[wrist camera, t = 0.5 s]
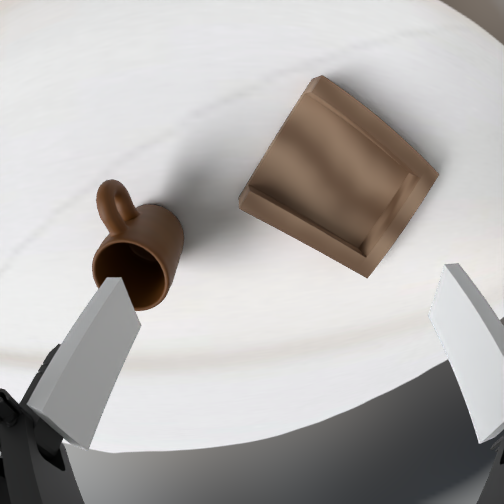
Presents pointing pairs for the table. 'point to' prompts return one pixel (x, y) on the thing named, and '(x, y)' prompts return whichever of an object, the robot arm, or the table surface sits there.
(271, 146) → the u rest
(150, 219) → the mug
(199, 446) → the table surface
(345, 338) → the table surface
